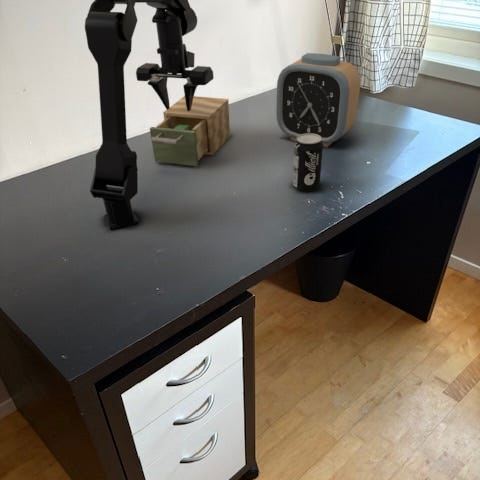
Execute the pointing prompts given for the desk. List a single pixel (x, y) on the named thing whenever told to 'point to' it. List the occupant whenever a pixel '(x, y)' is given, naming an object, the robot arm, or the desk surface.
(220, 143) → the cabinet
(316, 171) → the beverage can
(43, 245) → the desk surface
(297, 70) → the alarm clock
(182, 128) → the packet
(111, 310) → the desk surface
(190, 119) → the drawer
